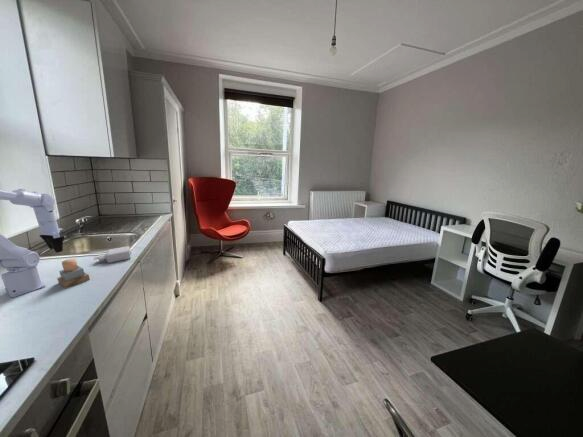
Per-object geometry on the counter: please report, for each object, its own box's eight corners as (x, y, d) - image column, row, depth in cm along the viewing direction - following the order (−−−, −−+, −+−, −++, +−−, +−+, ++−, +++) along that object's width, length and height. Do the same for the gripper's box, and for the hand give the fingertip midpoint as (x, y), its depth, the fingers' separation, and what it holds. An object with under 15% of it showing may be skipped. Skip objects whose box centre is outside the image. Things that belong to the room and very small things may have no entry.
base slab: (65, 289, 97) (64, 283, 96) (59, 284, 101) (57, 277, 100) (90, 281, 103) (88, 274, 102) (82, 276, 107) (81, 270, 106)
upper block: (66, 281, 97) (64, 274, 96) (61, 277, 100) (59, 271, 99) (84, 275, 102) (83, 268, 101) (79, 271, 105) (77, 265, 104)
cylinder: (66, 273, 97) (63, 264, 96) (62, 270, 100) (60, 261, 99) (79, 268, 101) (77, 260, 100) (76, 266, 103) (73, 257, 102)
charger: (96, 260, 123) (131, 253, 131) (93, 266, 116) (130, 259, 123) (94, 251, 122) (129, 245, 130) (91, 257, 114) (128, 250, 122)
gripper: (65, 221, 104) (73, 250, 108) (53, 216, 112) (61, 244, 115) (43, 225, 98) (52, 256, 102) (32, 220, 106) (41, 249, 110)
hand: (56, 250), depth 108 cm, fingers open, 7 cm apart
